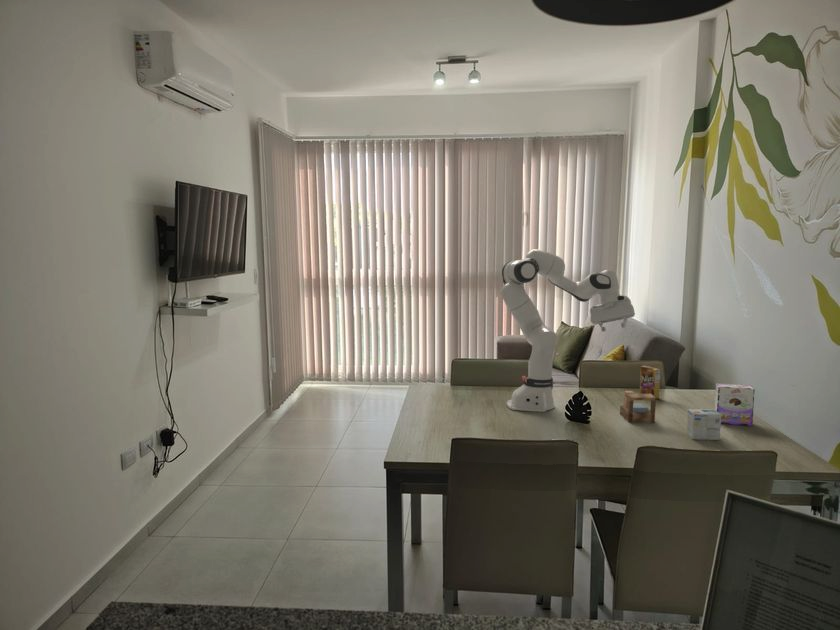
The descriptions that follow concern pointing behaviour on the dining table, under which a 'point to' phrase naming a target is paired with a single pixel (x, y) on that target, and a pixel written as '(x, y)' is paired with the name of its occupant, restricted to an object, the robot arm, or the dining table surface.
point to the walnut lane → (639, 417)
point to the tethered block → (636, 407)
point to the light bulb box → (703, 424)
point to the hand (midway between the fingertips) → (613, 329)
